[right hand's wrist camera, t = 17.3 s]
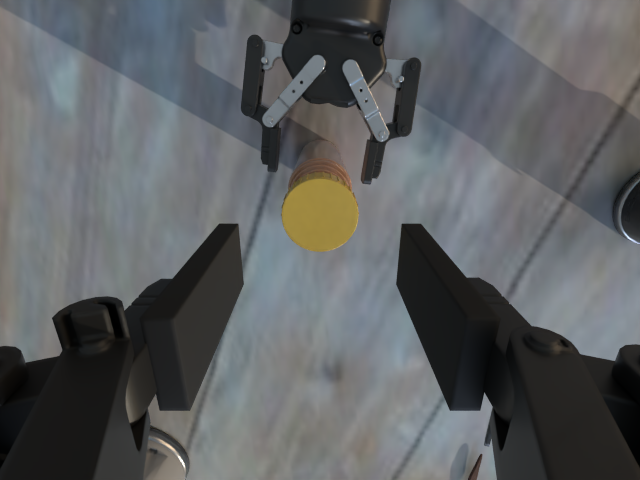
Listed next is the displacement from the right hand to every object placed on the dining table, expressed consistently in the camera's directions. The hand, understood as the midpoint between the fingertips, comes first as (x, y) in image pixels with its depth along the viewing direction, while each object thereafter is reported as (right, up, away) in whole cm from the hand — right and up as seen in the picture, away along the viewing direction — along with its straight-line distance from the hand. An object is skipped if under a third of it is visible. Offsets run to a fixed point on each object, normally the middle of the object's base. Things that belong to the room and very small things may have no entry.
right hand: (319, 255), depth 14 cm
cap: (0, +2, +5) cm, 6 cm away
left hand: (0, +6, +18) cm, 19 cm away
